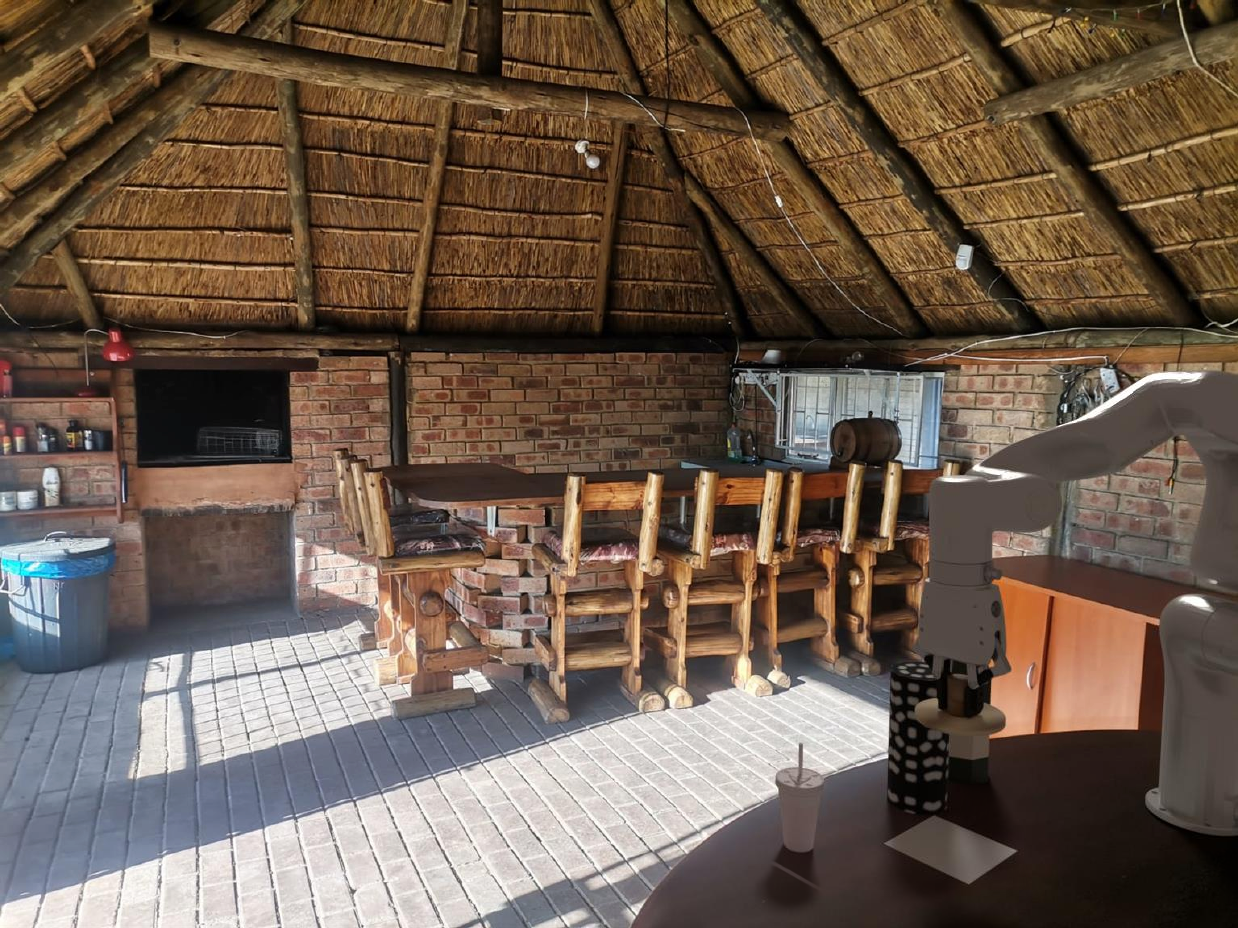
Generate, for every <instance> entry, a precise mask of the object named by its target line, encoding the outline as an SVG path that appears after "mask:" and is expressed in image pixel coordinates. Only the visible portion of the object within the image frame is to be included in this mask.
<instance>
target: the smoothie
mask: <svg viewBox="0 0 1238 928" xmlns="http://www.w3.org/2000/svg"><path fill="white" fill-rule="evenodd" d="M803 757H804V743H803V742H798V758H797V759H798V763H797V764H798V766H789V767H785V768H783V769H780V770H778V771H777V772H776V774H775V780H774V784H775V786H776V787H777V791H778V798H779V800H778V801H779V809H780V810H779V811H780V816H781V818H780V819H781V826H782V837H783V845H784V847H785V848H787V849H788V850H789V851H791V852H796V853H807V852H811V851H812V850H813V848H814V845H815V844H814V842H815V837H816V830H817V829H816V828H817V824H818V823H817V822H818V817H819V816H818V815H819V810H820V803H821V796H822V792H823V791H824V789H825V778H824V776H823V775H822V774H820V773H819V772H818V771H816V770H814V769H810V768H807V767H803V765H804V764H803V762H804V758H803Z"/></svg>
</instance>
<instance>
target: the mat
mask: <svg viewBox="0 0 1238 928" xmlns="http://www.w3.org/2000/svg"><path fill="white" fill-rule="evenodd" d="M883 845H885V846H887V847H889V848H892V849H893V850H896V851H898V852H900V853H902V854H904V855H906V856H908V857H910V858H913V859H915V860H917V861H919V862H920V863H921V862H922V863H923V864H925V865H927V866H929V867H931V868H934V869H936V870H938V871H940V872H941V873H944V874H946V875H947V876H950V877H952V878H954V879H956V880H959V881H961V882H963V883H965V884H967V885H970V884H971V883H973V882H975V881H976V880H977V879H979V878H980V877H982V876H983V875H985V874H987V873H988V872H989V871H990V870H992V869H994V868H995V867H996V866H998V865H999V864H1001V863H1002V862H1004V861H1005V860H1007V859H1008V858H1009V857H1011V856H1013V855H1014V854H1015V853H1018V850H1017V849H1014V848H1013V847H1009V846H1007V845H1005V844H1002V843H1000V842H997V841H995V840H993V839H990V838H988V837H986V836H983V835H981V834H978V833H976V832H974V831H973V830H969V829H967V828H965V827H962V826H960V825H958V824H956V823H953V822H951V821H948V820H945V819H944V818H941V817H939V816H937V815H933V816H931V817H928V818H927V819H925V820H924V821H921V822H920V823H918V824H916V825H915V826H913V827H910V828H908V829H907V830H905V831H903V832H901V833H900V834H898V835H897V836H895V837H893V838H891V839H889V840H888V841H886V842H884V843H883Z"/></svg>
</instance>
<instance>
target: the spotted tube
mask: <svg viewBox="0 0 1238 928" xmlns="http://www.w3.org/2000/svg"><path fill="white" fill-rule="evenodd" d="M889 677H890V678H889V709H888V710H889V712H888V713H889V716H888V717H889V718H888V747H887V748H888V749H887V750H888V751H887V785H886V786H887V787H886V798H887V799H886V800H887V801H888V802H889V803H890V805H891V806H893V807H894V808H897V809H898V810H899V811H903V812H906V813H908V814H909V813H910V814H914V815H919V816H920V815H921V816H931V815H933V816H935V815H938V814H942V813H943V812H944V811H946V809H947V808H948V788H949V787H948V786H949V785H948V783H949V780H948V762H949V734H947V733H943V732H939V731H936V730H933V729H930V728H928V727H926V726H924V725H922V724H921V723H920V722H919V721H918V720H917V719H916V717H915V707H916V705H917V704H918V703H920V702H922V701H924V700H928V699H932V698H937V679H935V678H934V677H933V675H932V670H931V669H930V667H929V666H928V665H927V663H926V662H925V661H902V662H901V661H900V662H896V663H894V664H891V666H890V676H889Z"/></svg>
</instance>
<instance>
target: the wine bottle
mask: <svg viewBox="0 0 1238 928" xmlns="http://www.w3.org/2000/svg"><path fill="white" fill-rule="evenodd" d="M990 667H991V666H989V665H987V669H988V668H990ZM951 673H952V674H963V675H967V676H968V673H967V663H963V662H959V661H955V660H953V663H952V672H951ZM992 680H993V679H991V680H990V681H989V682H988V683H986V684H985V685H984V703H987V704H989V705H992V704H991V703H992V702H991V701H992V699H991V698H992ZM989 753H990V735H986V736H959V735H952V734H949V762H948V781H951V782H957V783H963V784H969V785H973V784H974V785H975V784H981V785H983V784H987V782H988V783H989V758H990V757H989V755H990V754H989Z"/></svg>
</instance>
